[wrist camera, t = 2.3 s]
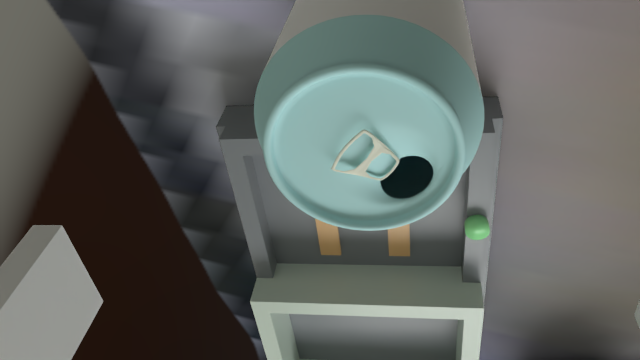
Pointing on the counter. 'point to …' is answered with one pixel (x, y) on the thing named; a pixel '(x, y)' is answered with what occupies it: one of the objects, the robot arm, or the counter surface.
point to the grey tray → (365, 263)
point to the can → (370, 109)
